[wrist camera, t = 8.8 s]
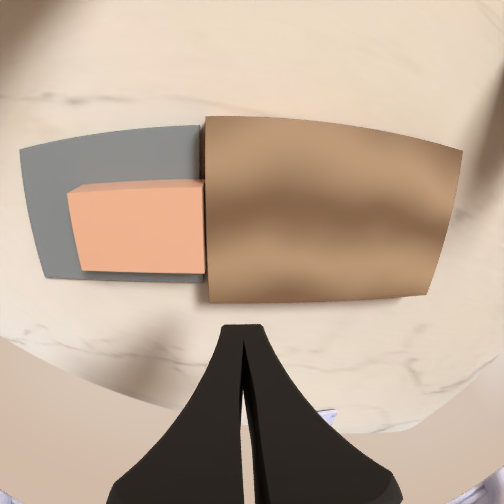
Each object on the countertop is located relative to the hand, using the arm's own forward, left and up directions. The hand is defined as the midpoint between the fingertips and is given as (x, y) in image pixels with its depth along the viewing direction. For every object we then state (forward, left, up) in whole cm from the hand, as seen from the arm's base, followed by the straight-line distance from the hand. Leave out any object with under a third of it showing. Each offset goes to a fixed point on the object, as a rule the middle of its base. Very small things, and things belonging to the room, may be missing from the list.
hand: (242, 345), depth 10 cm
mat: (+2, +9, -9) cm, 13 cm away
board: (+2, -6, -9) cm, 11 cm away
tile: (+1, +6, -9) cm, 11 cm away
